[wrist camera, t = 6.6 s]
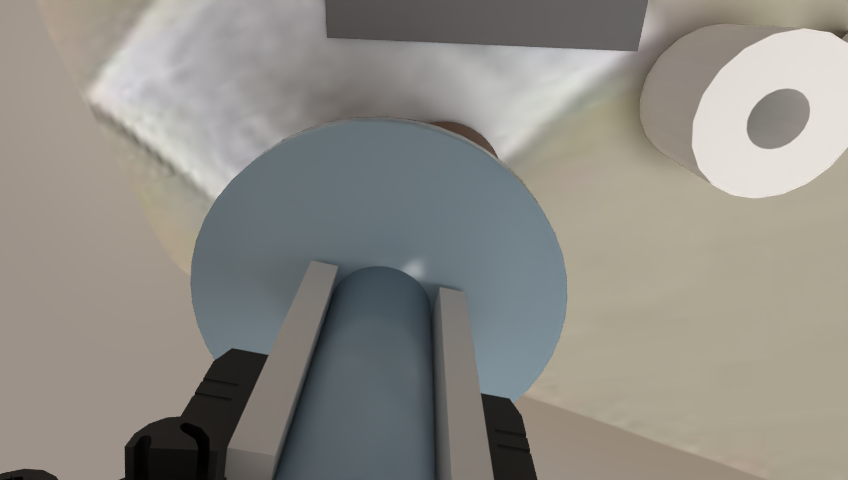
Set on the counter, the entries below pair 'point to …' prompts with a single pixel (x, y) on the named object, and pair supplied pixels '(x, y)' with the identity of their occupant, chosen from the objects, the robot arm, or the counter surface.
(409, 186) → the lid
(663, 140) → the toilet paper
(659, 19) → the counter surface
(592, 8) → the mat
